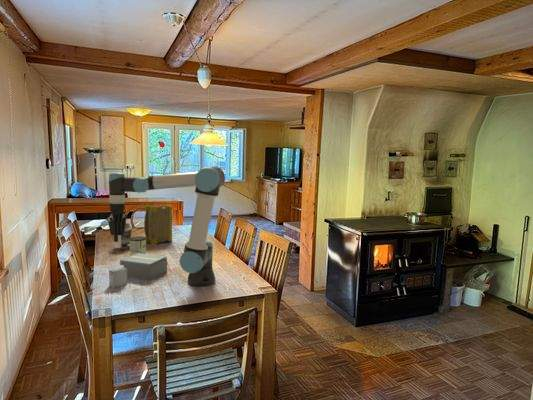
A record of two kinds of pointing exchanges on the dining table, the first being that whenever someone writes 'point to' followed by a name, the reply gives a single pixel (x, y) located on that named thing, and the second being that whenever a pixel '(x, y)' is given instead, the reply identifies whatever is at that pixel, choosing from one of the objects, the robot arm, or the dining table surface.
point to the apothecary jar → (126, 237)
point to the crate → (146, 270)
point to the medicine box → (117, 277)
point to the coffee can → (137, 245)
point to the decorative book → (158, 223)
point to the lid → (142, 259)
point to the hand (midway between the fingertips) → (117, 247)
